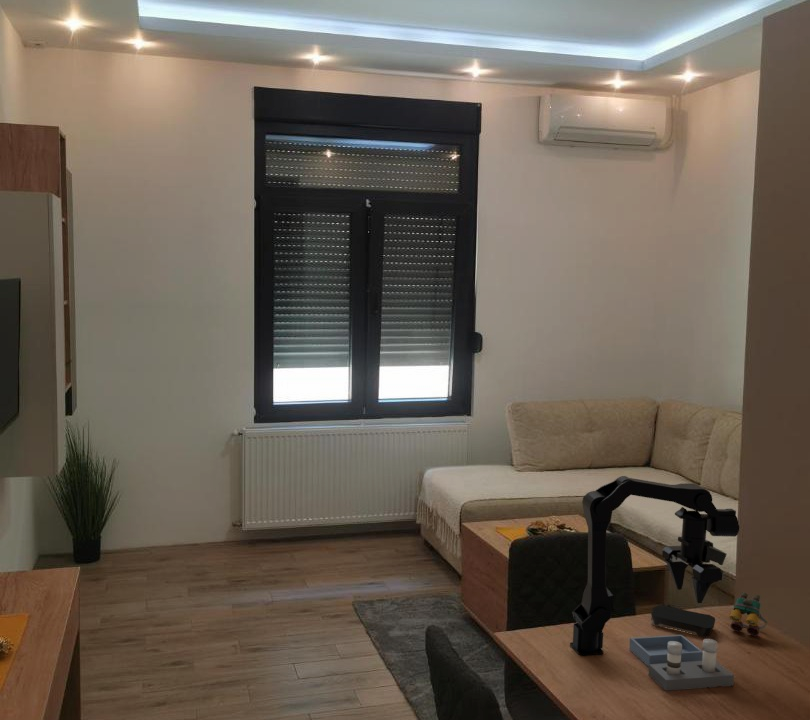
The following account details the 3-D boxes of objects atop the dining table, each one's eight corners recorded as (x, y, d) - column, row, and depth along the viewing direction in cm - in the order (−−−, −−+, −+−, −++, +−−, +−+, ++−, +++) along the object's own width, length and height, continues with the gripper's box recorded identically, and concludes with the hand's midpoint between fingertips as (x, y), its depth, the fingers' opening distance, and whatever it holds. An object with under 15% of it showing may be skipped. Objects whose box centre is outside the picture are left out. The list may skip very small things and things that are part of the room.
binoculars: (727, 635, 229) (723, 611, 224) (735, 608, 235) (732, 584, 230) (763, 644, 224) (761, 620, 219) (771, 617, 230) (769, 592, 225)
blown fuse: (669, 685, 195) (672, 647, 194) (662, 678, 198) (665, 641, 197) (682, 684, 195) (684, 646, 195) (675, 677, 198) (677, 640, 198)
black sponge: (716, 629, 228) (717, 616, 228) (709, 640, 221) (710, 626, 221) (655, 616, 237) (656, 603, 236) (646, 625, 229) (647, 612, 229)
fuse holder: (665, 690, 192) (666, 680, 192) (648, 674, 200) (649, 664, 199) (733, 685, 195) (733, 675, 195) (713, 669, 203) (714, 659, 203)
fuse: (705, 682, 197) (707, 645, 196) (698, 676, 200) (700, 639, 199) (717, 681, 197) (720, 644, 196) (710, 675, 200) (712, 638, 199)
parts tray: (648, 667, 203) (649, 655, 203) (629, 649, 213) (629, 637, 213) (702, 663, 206) (703, 651, 206) (680, 646, 216) (681, 634, 216)
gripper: (745, 546, 205) (740, 608, 206) (701, 524, 223) (697, 581, 224) (703, 547, 202) (698, 610, 203) (663, 524, 220) (658, 583, 222)
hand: (689, 596), depth 213 cm, fingers open, 9 cm apart
